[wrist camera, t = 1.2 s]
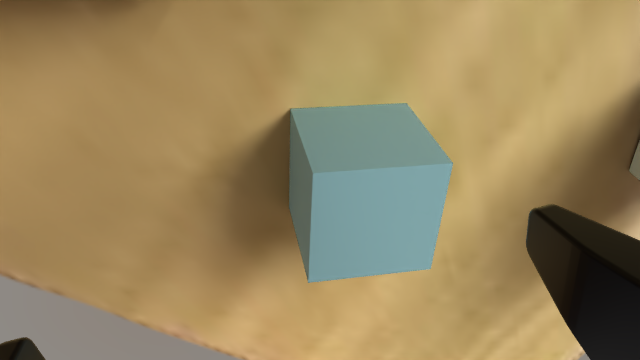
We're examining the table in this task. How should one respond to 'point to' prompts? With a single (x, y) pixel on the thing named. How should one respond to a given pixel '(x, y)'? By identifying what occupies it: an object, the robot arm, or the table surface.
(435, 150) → the teal cube
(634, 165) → the skincare box
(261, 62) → the table surface
